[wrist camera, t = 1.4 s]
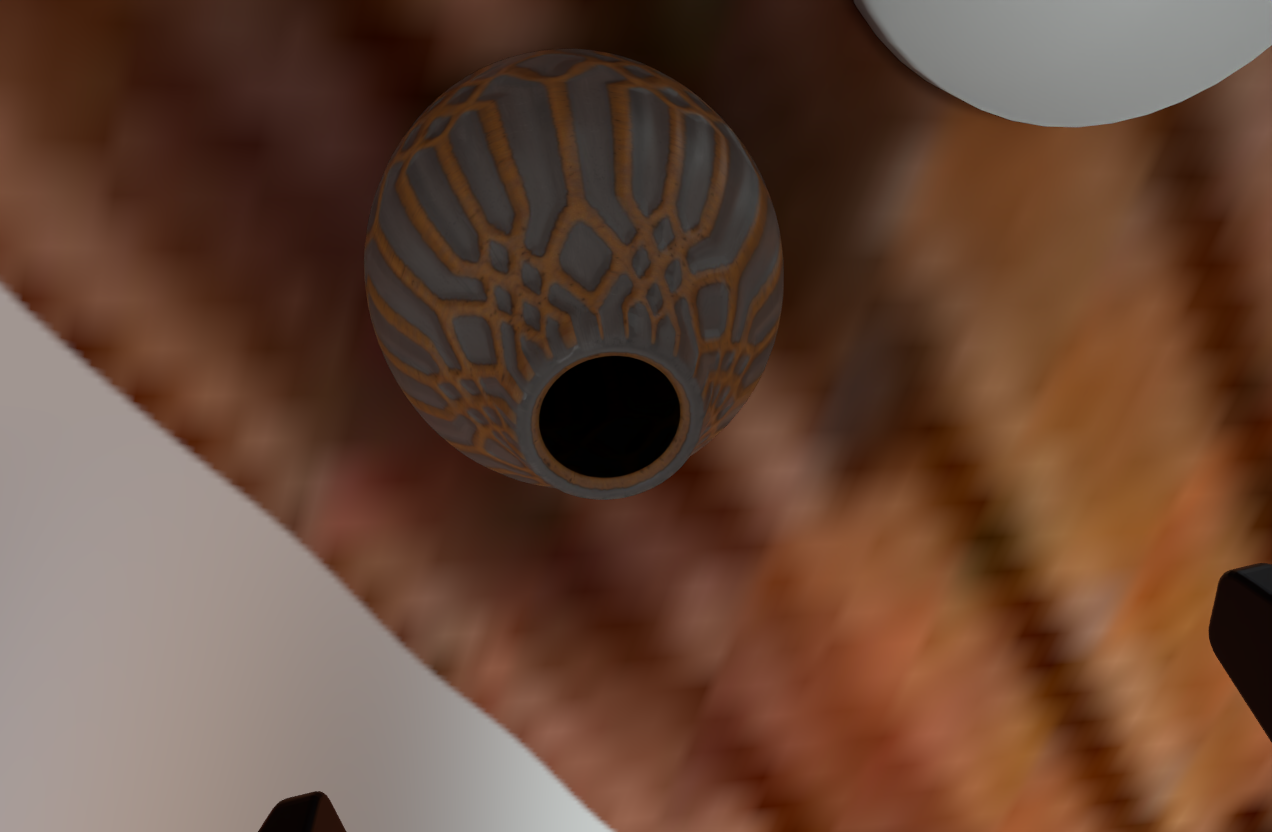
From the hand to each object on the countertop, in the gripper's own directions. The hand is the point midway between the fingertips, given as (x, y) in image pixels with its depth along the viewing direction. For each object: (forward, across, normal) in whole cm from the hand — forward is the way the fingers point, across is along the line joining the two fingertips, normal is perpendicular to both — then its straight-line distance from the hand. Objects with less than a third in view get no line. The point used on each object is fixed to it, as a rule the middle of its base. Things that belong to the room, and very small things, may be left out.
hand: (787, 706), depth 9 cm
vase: (+13, +1, -1) cm, 13 cm away
